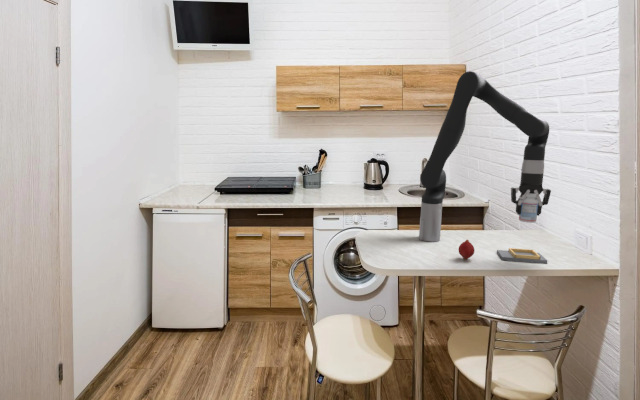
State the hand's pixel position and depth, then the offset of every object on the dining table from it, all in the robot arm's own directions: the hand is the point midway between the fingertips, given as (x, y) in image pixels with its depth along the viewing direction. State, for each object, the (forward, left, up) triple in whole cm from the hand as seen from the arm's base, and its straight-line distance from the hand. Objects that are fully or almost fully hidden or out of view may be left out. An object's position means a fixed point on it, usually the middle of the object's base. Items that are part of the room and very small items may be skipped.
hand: (528, 214), depth 156 cm
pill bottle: (0, 0, -3) cm, 3 cm away
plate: (-1, 0, -18) cm, 18 cm away
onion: (-23, -7, -18) cm, 30 cm away
